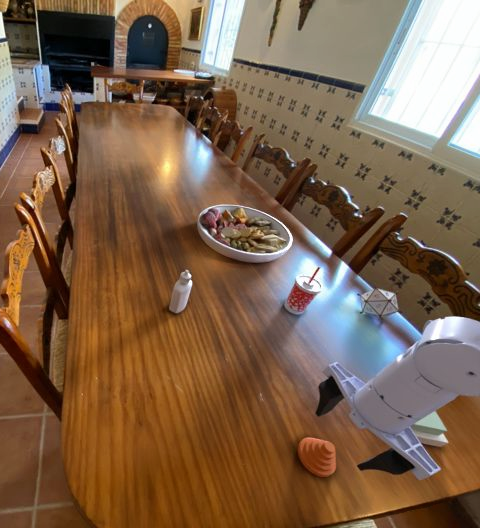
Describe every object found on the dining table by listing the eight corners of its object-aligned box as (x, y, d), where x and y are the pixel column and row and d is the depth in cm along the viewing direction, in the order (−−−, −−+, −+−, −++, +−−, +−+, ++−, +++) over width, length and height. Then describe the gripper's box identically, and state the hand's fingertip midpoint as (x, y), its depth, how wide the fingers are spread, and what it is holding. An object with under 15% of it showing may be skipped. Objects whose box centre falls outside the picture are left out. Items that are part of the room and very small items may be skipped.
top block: (439, 435, 53) (447, 431, 51) (397, 427, 53) (404, 422, 52) (417, 397, 58) (424, 392, 57) (379, 390, 59) (385, 385, 57)
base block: (440, 447, 53) (449, 443, 52) (387, 436, 54) (394, 431, 53) (412, 398, 60) (419, 393, 59) (365, 389, 61) (371, 384, 59)
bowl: (276, 223, 110) (285, 204, 105) (295, 275, 87) (307, 255, 82) (195, 211, 113) (200, 192, 108) (194, 258, 91) (199, 237, 86)
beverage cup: (294, 319, 74) (322, 278, 65) (276, 302, 78) (299, 262, 69) (311, 312, 76) (339, 272, 67) (292, 296, 80) (316, 256, 72)
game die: (353, 319, 81) (345, 285, 79) (385, 310, 80) (379, 276, 78) (378, 332, 72) (370, 294, 70) (415, 323, 71) (408, 284, 69)
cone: (338, 480, 48) (355, 471, 45) (302, 472, 48) (316, 462, 45) (326, 443, 52) (341, 432, 49) (293, 436, 53) (306, 424, 50)
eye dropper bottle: (191, 309, 74) (202, 274, 67) (172, 315, 72) (181, 279, 65) (183, 297, 77) (192, 262, 70) (164, 302, 75) (171, 267, 68)
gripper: (327, 353, 40) (286, 400, 49) (443, 473, 30) (365, 505, 39) (364, 341, 42) (318, 388, 51) (484, 449, 32) (401, 485, 41)
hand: (341, 437), depth 45 cm, fingers open, 7 cm apart
